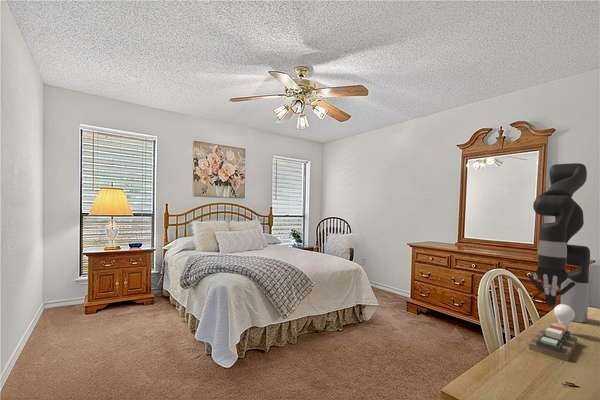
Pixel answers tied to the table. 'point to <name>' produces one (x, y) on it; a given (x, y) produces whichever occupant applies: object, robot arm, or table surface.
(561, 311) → the lightbulb
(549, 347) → the button board
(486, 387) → the table surface
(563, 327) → the terracotta button
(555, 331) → the offwhite button
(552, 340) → the sage button
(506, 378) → the table surface
